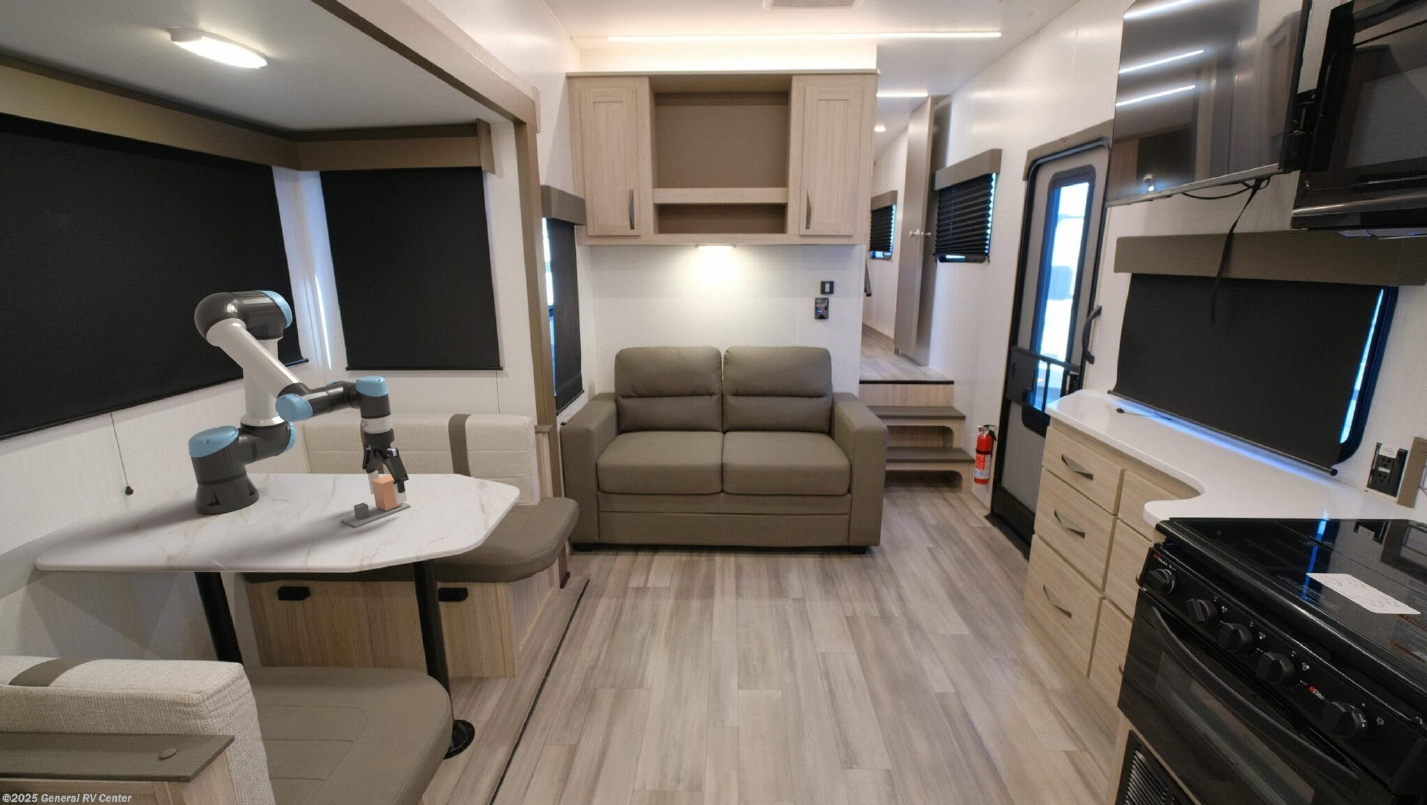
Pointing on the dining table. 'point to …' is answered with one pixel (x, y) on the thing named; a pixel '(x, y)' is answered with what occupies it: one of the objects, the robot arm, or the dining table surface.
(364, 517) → the stand
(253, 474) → the dining table surface
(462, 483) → the dining table surface
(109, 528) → the dining table surface
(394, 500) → the orange block
